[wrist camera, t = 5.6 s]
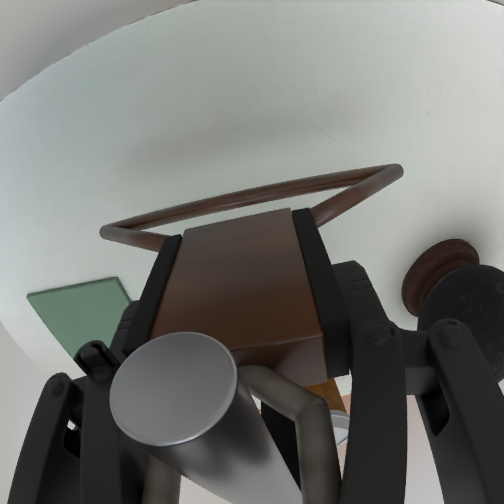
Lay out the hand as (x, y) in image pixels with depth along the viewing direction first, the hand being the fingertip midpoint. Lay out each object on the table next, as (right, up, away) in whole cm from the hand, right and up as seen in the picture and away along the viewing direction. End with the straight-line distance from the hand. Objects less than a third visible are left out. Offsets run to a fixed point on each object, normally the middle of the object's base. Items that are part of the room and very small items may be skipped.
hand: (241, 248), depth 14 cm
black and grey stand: (+1, +3, +13) cm, 13 cm away
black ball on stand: (+23, -3, +17) cm, 29 cm away
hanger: (0, +3, +5) cm, 6 cm away
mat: (-19, -13, +23) cm, 33 cm away
